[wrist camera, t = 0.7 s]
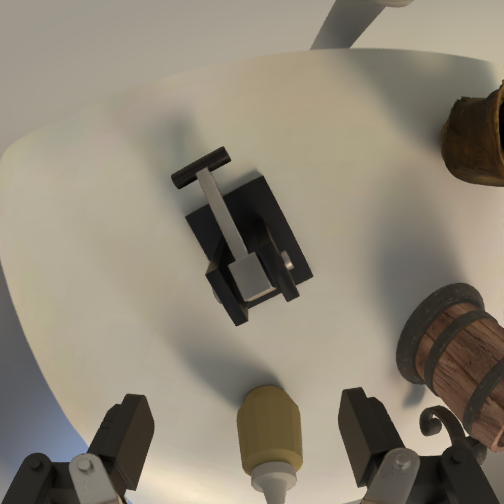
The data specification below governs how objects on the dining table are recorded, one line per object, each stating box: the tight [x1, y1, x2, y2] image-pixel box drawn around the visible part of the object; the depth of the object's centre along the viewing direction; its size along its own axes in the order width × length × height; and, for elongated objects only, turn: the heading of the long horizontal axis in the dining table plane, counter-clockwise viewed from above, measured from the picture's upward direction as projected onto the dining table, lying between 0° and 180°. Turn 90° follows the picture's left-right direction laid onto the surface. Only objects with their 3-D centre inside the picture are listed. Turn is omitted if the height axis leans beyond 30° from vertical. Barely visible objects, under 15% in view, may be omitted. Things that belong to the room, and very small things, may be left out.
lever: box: [171, 146, 276, 301], centre depth 23 cm, size 12×5×2 cm, turn 27°
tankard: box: [396, 283, 504, 465], centre depth 28 cm, size 24×17×20 cm
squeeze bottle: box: [237, 385, 303, 504], centre depth 29 cm, size 8×8×18 cm
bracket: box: [185, 175, 313, 326], centre depth 27 cm, size 12×9×13 cm
